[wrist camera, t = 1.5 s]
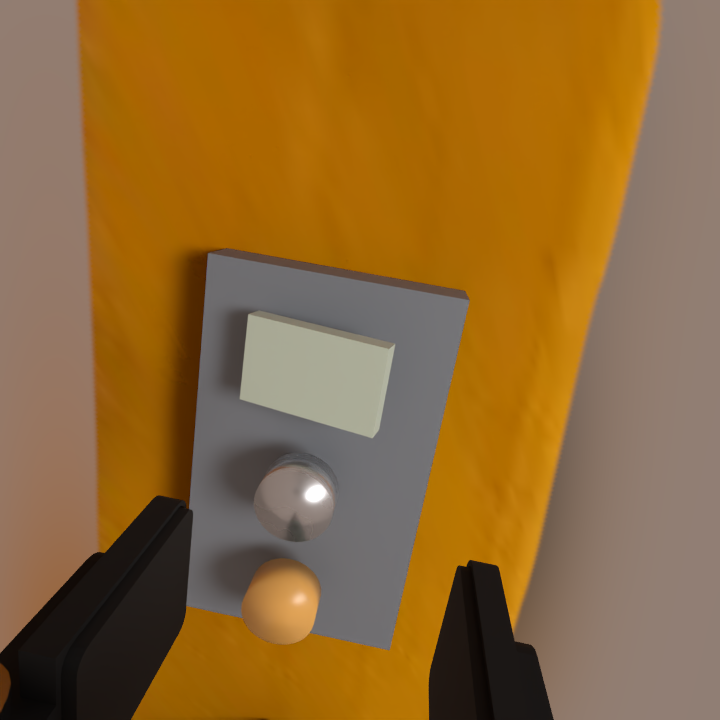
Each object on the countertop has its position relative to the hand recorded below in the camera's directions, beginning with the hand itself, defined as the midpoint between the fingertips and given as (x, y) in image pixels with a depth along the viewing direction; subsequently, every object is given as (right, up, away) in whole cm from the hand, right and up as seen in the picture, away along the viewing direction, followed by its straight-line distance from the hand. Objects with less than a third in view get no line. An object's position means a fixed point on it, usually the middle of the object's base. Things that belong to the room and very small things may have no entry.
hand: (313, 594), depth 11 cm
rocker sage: (-1, +4, +13) cm, 14 cm away
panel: (-1, 0, +19) cm, 19 cm away
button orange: (-3, -7, +17) cm, 18 cm away
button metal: (-2, -1, +15) cm, 15 cm away
